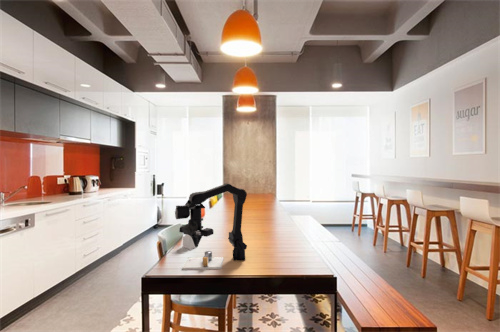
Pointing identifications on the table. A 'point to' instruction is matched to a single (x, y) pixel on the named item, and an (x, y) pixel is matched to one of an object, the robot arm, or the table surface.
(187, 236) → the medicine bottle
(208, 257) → the lock lever
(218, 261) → the base
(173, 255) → the table surface
